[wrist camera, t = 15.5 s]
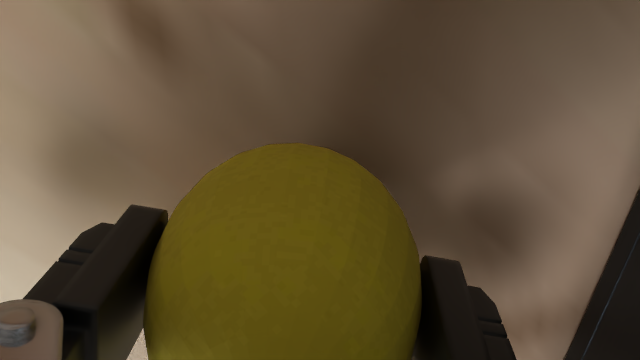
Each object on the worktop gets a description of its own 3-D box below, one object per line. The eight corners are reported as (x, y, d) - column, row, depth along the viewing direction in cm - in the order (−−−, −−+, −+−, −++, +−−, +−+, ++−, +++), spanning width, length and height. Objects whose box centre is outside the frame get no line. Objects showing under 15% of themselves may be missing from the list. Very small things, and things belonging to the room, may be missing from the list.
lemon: (246, 65, 14) (133, 211, 7) (441, 155, 15) (529, 375, 8) (175, 238, 16) (32, 491, 9) (349, 310, 17) (348, 597, 10)
